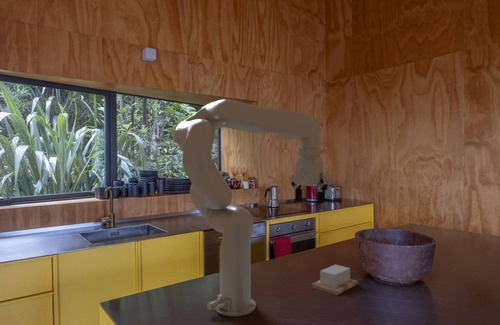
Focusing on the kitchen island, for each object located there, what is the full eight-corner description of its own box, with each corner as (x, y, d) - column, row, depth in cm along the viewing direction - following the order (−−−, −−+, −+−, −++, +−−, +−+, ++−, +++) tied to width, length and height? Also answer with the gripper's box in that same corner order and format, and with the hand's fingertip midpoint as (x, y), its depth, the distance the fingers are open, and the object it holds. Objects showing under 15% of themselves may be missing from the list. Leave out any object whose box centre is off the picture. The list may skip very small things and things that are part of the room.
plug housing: (334, 288, 119) (334, 275, 119) (320, 283, 123) (320, 270, 123) (349, 280, 126) (350, 268, 126) (335, 276, 130) (335, 264, 130)
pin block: (336, 295, 116) (336, 284, 116) (311, 287, 123) (311, 276, 123) (357, 284, 126) (357, 274, 126) (333, 277, 133) (333, 267, 133)
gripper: (283, 153, 126) (284, 200, 127) (324, 153, 114) (324, 205, 114) (296, 153, 132) (296, 198, 132) (336, 153, 119) (336, 203, 119)
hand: (309, 201), depth 123 cm, fingers open, 9 cm apart
